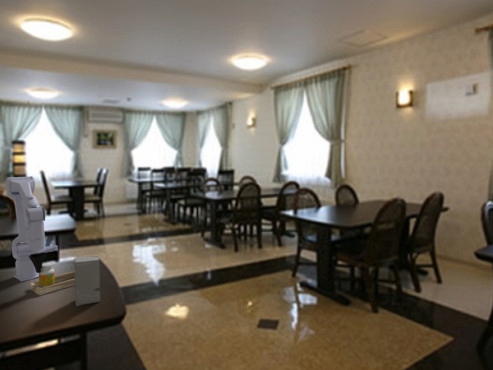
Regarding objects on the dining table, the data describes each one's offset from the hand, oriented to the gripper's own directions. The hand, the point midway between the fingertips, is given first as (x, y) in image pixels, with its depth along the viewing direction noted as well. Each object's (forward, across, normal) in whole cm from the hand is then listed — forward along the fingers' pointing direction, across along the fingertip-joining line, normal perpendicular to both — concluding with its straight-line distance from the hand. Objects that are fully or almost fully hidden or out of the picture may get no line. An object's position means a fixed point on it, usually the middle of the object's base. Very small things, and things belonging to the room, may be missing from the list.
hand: (38, 272), depth 133 cm
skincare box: (+8, +8, -24) cm, 26 cm away
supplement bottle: (+8, +3, 0) cm, 8 cm away
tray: (+8, +8, 0) cm, 11 cm away
